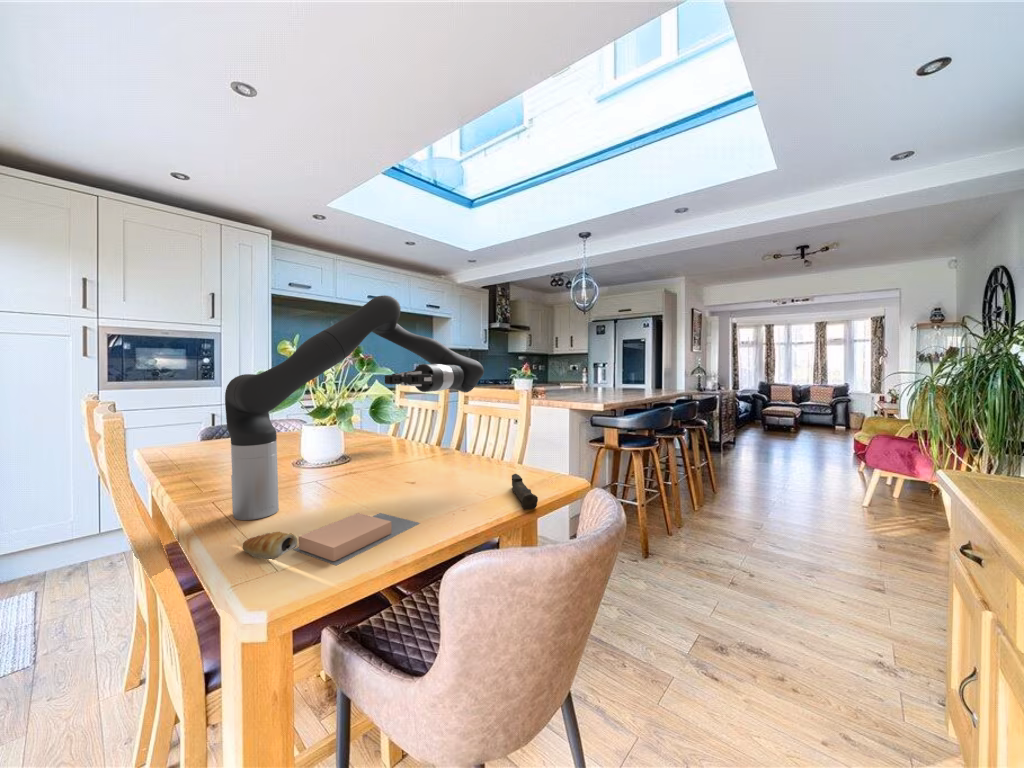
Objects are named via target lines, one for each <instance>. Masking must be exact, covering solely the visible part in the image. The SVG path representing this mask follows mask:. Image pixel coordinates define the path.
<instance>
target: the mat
mask: <svg viewBox="0 0 1024 768" xmlns="http://www.w3.org/2000/svg"><path fill="white" fill-rule="evenodd" d="M371 516H372V517H376V518H380V519H384V520H387V521H391V532H392V533H391V534H389V535H387V536H385V537H383V538H381V539H379V540H377V541H375V542H373V543H371V544H369V545H366V546H364V547H362V548H360V549H358V550H356V551H354V552H352V553H350V554H348V555H346V556H344V557H342V558H340V559H338V560H336V561H331V560H328V559H325V558H323V557H320V556H317V555H314V554H311V553H309V552H306V551H303V550H300V549H299V546H298V547H295V548H293V549H292V551H295V552H298V553H300V554H304V555H305V556H309V557H311V558H315V559H317V560H320V561H323V562H325V563H327V564H328V563H329V564H330V565H334V566H338V565H341V564H343V563H345V562H346V561H348V560H351V559H352V558H354V557H356V556H358V555H361V554H362V553H365V552H366V551H368V550H371V549H372V548H374V547H376V546H378V545H380V544H382V543H384V542H386V541H388V540H390V539H392V538H394V537H396V536H398V535H400V534H402V533H404V532H406V531H408V530H410V529H412V528H414V527H416V526H418V525H420V524H421V522H418V521H415V520H414V521H413V520H409V519H408V518H407V519H405V518H403V517H397V516H393V515H391V514H386V513H382V512H378V513H376V514H375V515H371Z"/></svg>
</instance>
